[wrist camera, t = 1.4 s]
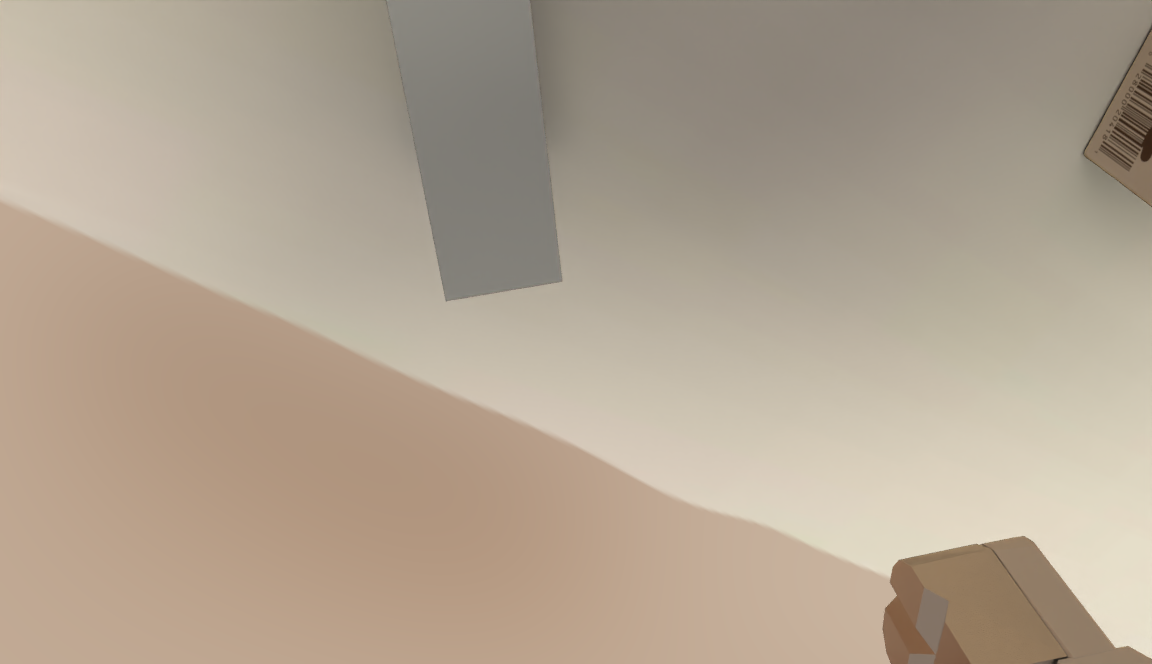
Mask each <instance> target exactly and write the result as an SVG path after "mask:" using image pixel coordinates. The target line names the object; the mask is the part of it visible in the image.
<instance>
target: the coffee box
mask: <svg viewBox="0 0 1152 664" xmlns="http://www.w3.org/2000/svg"><path fill="white" fill-rule="evenodd" d="M1084 156H1085V157H1086V158H1087V159H1089V160H1090V161H1092V162H1093V163H1095V164H1096V165H1097V166H1099V167H1100V168H1101V169H1102V170H1104V171H1105V172H1106V173H1108V174H1109V175H1111V176H1112V177H1113V178H1115V179H1116V180H1117V181H1119V182H1120V183H1121V184H1122V185H1124V186H1125V187H1126V188H1128V189H1129V190H1130V191H1132V192H1133V193H1134V194H1135V195H1137V196H1138V197H1139V198H1141V199H1142V200H1143V201H1145V202H1146V203H1147V204H1149V205H1150V206H1151V207H1152V30H1151V32H1150V34H1149V35H1148V37H1147V39H1146V41H1145V43H1144V45H1143V46H1142V48H1141V50H1140V52H1139V54H1138V55H1137V57H1136V59H1135V61H1134V63H1133V64H1132V66H1131V68H1130V70H1129V72H1128V73H1127V75H1126V77H1125V79H1124V81H1123V83H1122V84H1121V86H1120V88H1119V90H1118V92H1117V94H1116V95H1115V97H1114V99H1113V101H1112V103H1111V104H1110V106H1109V108H1108V110H1107V112H1106V114H1105V115H1104V117H1103V119H1102V121H1101V123H1100V125H1099V127H1098V128H1097V130H1096V132H1095V134H1094V135H1093V137H1092V139H1091V141H1090V142H1089V144H1088V146H1087V148H1086V150H1085V152H1084Z"/></svg>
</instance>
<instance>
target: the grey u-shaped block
mask: <svg viewBox="0 0 1152 664" xmlns="http://www.w3.org/2000/svg"><path fill="white" fill-rule="evenodd" d="M386 2H387V7H388V12H389V17H390V22H391V27H392V32H393V37H394V43H395V48H396V53H397V58H398V63H399V68H400V73H401V78H402V83H403V88H404V93H405V98H406V103H407V108H408V113H409V118H410V123H411V128H412V133H413V138H414V143H415V148H416V153H417V158H418V163H419V168H420V173H421V178H422V184H423V189H424V194H425V199H426V204H427V209H428V214H429V219H430V224H431V229H432V234H433V239H434V244H435V249H436V254H437V259H438V264H439V269H440V274H441V279H442V284H443V289H444V294H445V299H446V301H450V300H456V299H462V298H468V297H474V296H480V295H486V294H492V293H497V292H503V291H509V290H515V289H521V288H527V287H533V286H539V285H545V284H551V283H557V282H562V275H561V266H560V257H559V249H558V240H557V231H556V222H555V214H554V205H553V196H552V188H551V179H550V170H549V161H548V153H547V144H546V135H545V127H544V118H543V109H542V100H541V92H540V83H539V74H538V66H537V57H536V48H535V39H534V31H533V22H532V13H531V5H530V0H386Z"/></svg>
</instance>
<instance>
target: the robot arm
mask: <svg viewBox="0 0 1152 664" xmlns="http://www.w3.org/2000/svg"><path fill="white" fill-rule="evenodd" d="M890 583H891V585H892V587H893V588H894V590H895V592H896V594H897V596H896V598H895V599H894V600H893V601H892V602H891V603H890V604H889V605H888V606H887V607H886V608H885V614H884V621H883V634H884V640H885V646H886V652H887V655H888V657H889V660H890V663H891V664H1152V659H1151V658H1149V657H1147V656H1145V655H1143V654H1142V653H1140V652H1138V651H1136V650H1134V649H1133V648H1131V647H1129V646H1126V647H1120V648H1115V647H1114V645H1113V644H1112V643H1111V641H1110V640H1109V639H1108V638H1107V636H1106V635H1105V634H1104V632H1103V631H1102V630H1101V628H1100V627H1099V626H1098V625H1097V623H1096V622H1095V621H1094V619H1093V618H1092V617H1091V616H1090V614H1089V613H1088V612H1087V610H1086V609H1085V608H1084V607H1083V605H1082V604H1081V603H1080V601H1079V600H1078V599H1077V597H1076V596H1075V595H1074V594H1073V592H1072V591H1071V590H1070V588H1069V587H1068V586H1067V585H1066V583H1065V582H1064V581H1063V579H1062V578H1061V577H1060V575H1059V574H1058V573H1057V572H1056V570H1055V569H1054V568H1053V566H1052V565H1051V564H1050V563H1049V561H1048V560H1047V559H1046V557H1045V556H1044V555H1043V553H1042V552H1041V551H1040V550H1039V548H1038V547H1037V546H1036V544H1035V543H1034V542H1033V541H1031V540H1030V539H1028V538H1026V537H1025V536H1020V537H1013V538H1009V539H1004V540H999V541H994V542H989V543H984V544H980V545H978V544H973V545H968V546H963V547H958V548H953V549H949V550H944V551H939V552H934V553H929V554H925V555H920V556H915V557H910V558H905V559H901V560H899V561H898V562H897V563H896V564H895V565H894V566H893V569H892V574H891V579H890Z"/></svg>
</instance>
